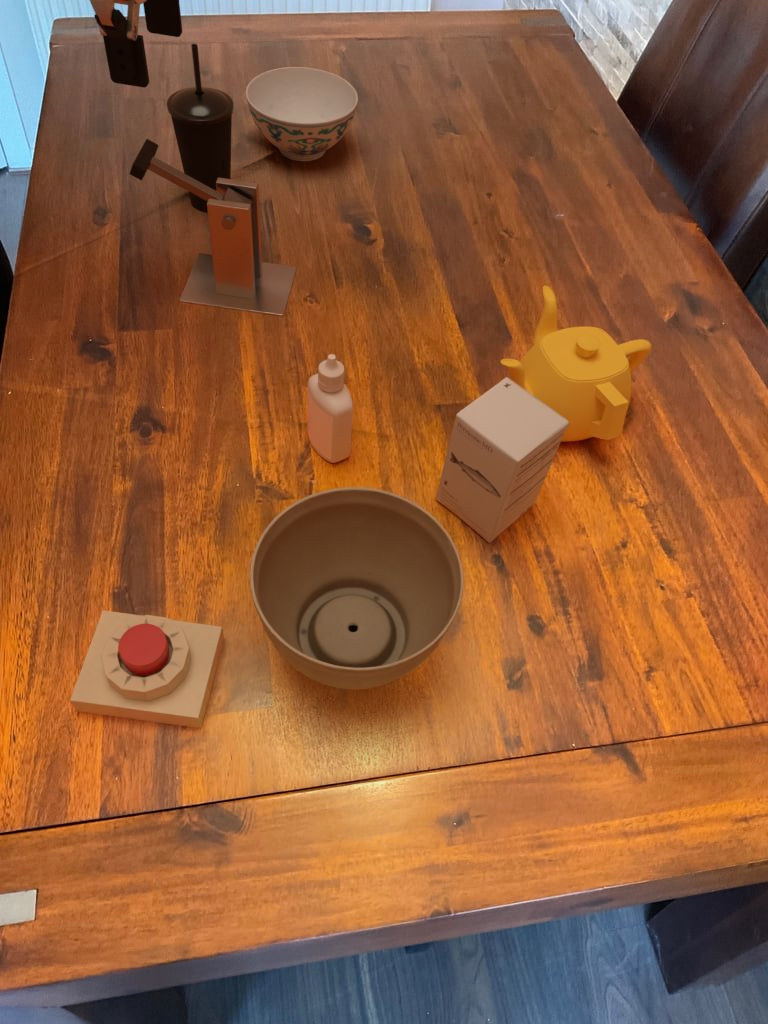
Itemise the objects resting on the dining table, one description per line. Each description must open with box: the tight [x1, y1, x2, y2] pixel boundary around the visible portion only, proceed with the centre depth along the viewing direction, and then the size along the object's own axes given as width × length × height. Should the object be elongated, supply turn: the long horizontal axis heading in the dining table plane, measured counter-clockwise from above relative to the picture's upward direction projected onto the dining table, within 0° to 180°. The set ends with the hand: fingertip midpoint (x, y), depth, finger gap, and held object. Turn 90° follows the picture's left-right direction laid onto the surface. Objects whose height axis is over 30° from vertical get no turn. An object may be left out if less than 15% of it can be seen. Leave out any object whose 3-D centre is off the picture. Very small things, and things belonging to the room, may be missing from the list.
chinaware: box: [245, 66, 359, 162], centre depth 111 cm, size 15×15×8 cm
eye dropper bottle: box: [306, 353, 354, 464], centre depth 77 cm, size 4×6×12 cm
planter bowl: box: [249, 486, 465, 690], centre depth 65 cm, size 16×16×11 cm
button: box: [118, 624, 169, 675], centre depth 62 cm, size 4×4×2 cm
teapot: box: [500, 285, 652, 443], centre depth 84 cm, size 14×13×10 cm
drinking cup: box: [166, 43, 235, 214], centre depth 96 cm, size 8×8×20 cm
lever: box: [129, 138, 252, 204], centre depth 84 cm, size 12×5×2 cm, turn 83°
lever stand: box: [178, 178, 298, 317], centre depth 89 cm, size 12×9×13 cm
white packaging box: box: [435, 376, 569, 544], centre depth 74 cm, size 7×7×13 cm
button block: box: [69, 609, 225, 729], centre depth 64 cm, size 10×8×4 cm
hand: (148, 57), depth 71 cm, fingers open, 9 cm apart
